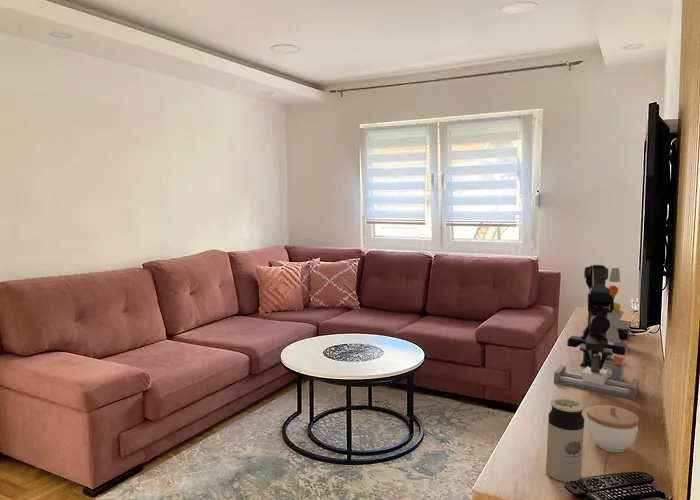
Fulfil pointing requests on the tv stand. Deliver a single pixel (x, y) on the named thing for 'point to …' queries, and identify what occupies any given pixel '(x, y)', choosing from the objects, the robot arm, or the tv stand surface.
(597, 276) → the robot arm
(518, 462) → the tv stand surface
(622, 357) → the block
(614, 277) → the lava lamp
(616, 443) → the lidded bowl
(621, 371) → the box
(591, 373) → the carriage
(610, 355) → the grey faceted rock
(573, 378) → the rail board
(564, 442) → the travel mug
